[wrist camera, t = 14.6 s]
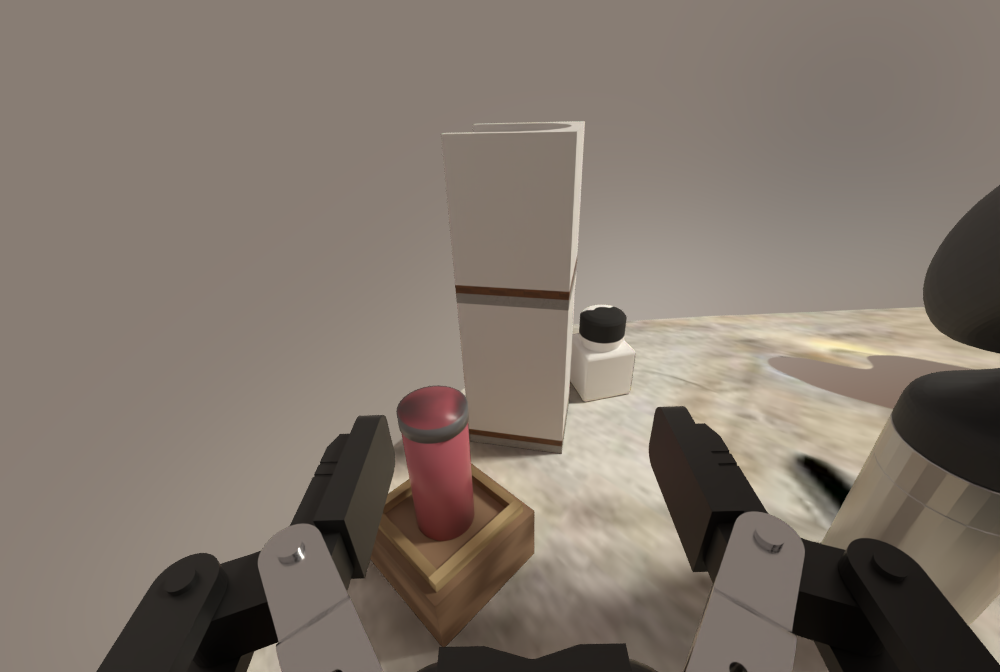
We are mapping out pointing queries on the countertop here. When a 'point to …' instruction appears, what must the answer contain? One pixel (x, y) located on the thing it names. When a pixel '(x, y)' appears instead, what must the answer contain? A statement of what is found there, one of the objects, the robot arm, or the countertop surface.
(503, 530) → the wooden box
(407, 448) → the red lidded canister
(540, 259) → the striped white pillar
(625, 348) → the medicine bottle
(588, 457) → the countertop surface
